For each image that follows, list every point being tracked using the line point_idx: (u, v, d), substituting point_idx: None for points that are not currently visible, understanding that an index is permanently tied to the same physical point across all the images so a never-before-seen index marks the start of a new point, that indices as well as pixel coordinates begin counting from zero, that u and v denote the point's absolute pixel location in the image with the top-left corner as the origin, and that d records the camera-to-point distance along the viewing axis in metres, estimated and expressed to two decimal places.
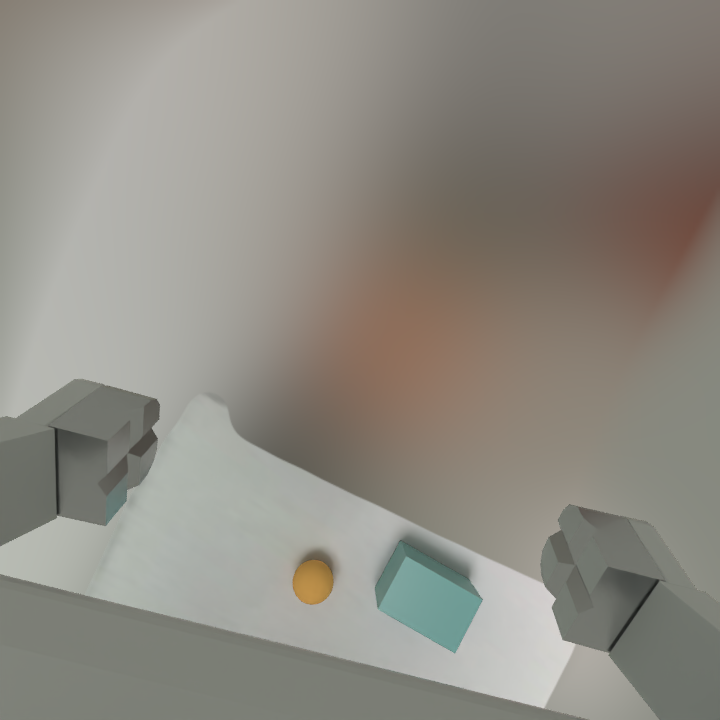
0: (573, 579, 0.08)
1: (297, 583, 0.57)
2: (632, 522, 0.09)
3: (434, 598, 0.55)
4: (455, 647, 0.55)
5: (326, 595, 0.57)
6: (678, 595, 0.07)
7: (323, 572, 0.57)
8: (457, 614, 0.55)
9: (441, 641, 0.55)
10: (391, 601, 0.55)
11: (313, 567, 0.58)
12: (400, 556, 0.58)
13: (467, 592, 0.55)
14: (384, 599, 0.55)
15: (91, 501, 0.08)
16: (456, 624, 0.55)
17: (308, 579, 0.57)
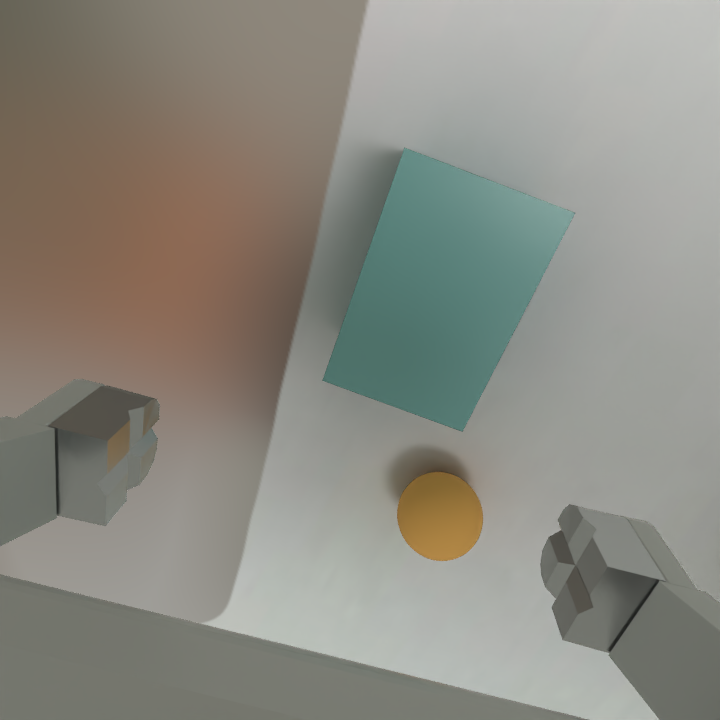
0: (573, 579, 0.08)
1: (436, 560, 0.27)
2: (631, 522, 0.09)
3: (419, 295, 0.20)
4: (556, 214, 0.18)
5: (456, 506, 0.26)
6: (678, 596, 0.07)
7: (410, 514, 0.27)
8: (457, 222, 0.18)
9: (539, 259, 0.18)
10: (439, 402, 0.21)
11: (402, 530, 0.27)
12: None
13: (389, 201, 0.18)
14: (436, 419, 0.22)
15: (91, 501, 0.08)
16: (486, 221, 0.18)
17: (423, 549, 0.26)
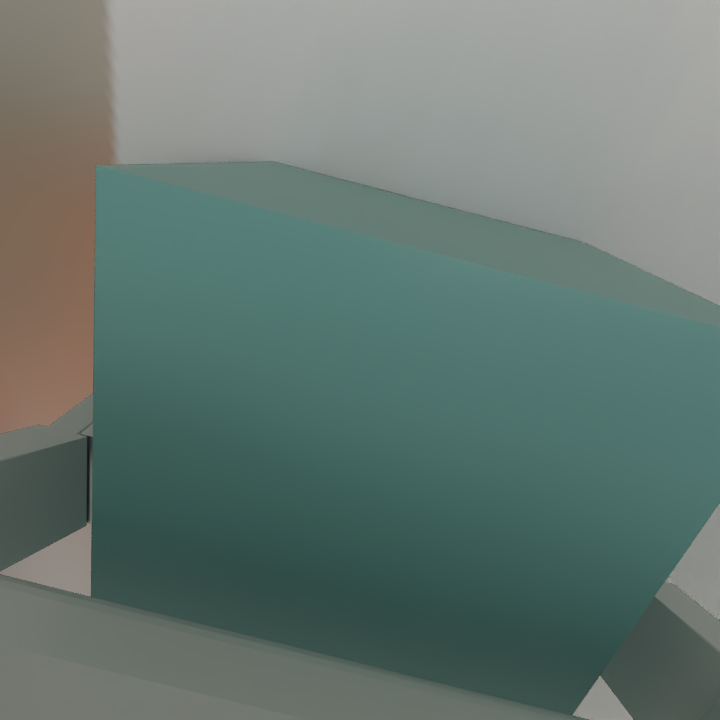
0: None
1: None
2: None
3: (282, 612, 0.06)
4: None
5: None
6: None
7: None
8: (359, 413, 0.05)
9: (672, 512, 0.05)
10: None
11: None
12: None
13: (103, 362, 0.05)
14: None
15: None
16: (467, 403, 0.05)
17: None
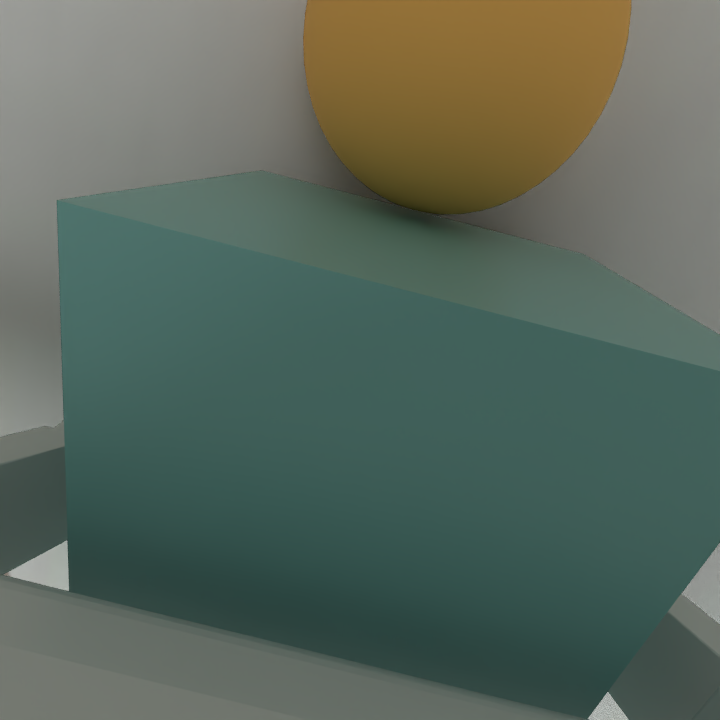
0: None
1: None
2: None
3: None
4: None
5: None
6: None
7: None
8: (340, 454, 0.05)
9: (667, 555, 0.05)
10: None
11: None
12: None
13: (73, 401, 0.05)
14: None
15: None
16: (453, 445, 0.05)
17: None
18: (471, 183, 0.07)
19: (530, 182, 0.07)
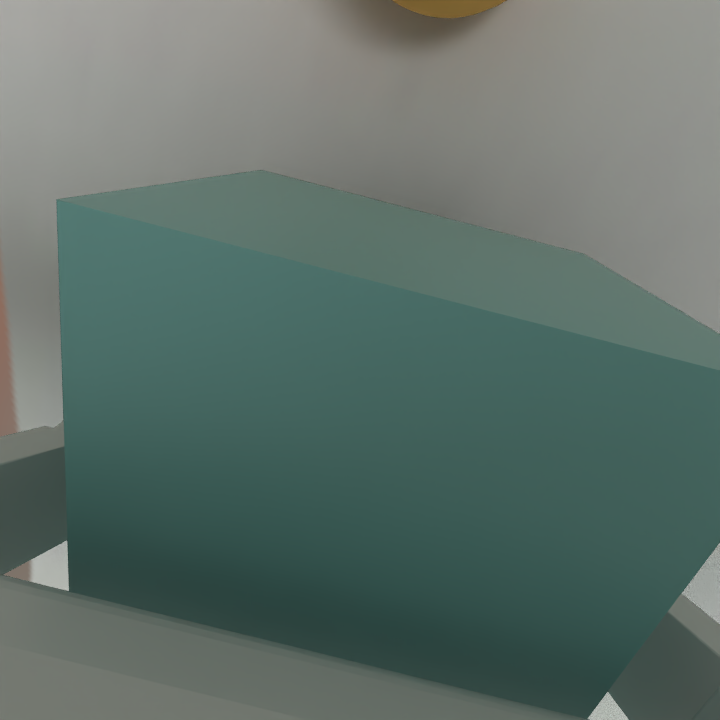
0: None
1: None
2: None
3: None
4: None
5: (429, 15, 0.10)
6: None
7: None
8: (340, 453, 0.05)
9: (667, 554, 0.05)
10: None
11: None
12: None
13: (73, 400, 0.05)
14: None
15: None
16: (453, 444, 0.05)
17: None
18: None
19: None
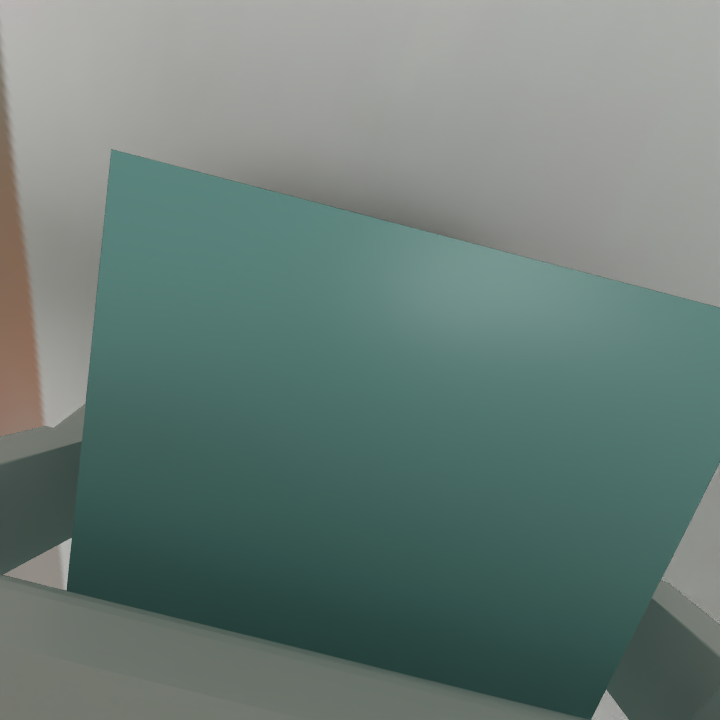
0: None
1: None
2: None
3: (271, 624, 0.06)
4: (718, 335, 0.05)
5: None
6: None
7: None
8: (355, 394, 0.05)
9: (665, 493, 0.05)
10: None
11: None
12: None
13: (102, 344, 0.05)
14: None
15: None
16: (461, 381, 0.05)
17: None
18: None
19: None
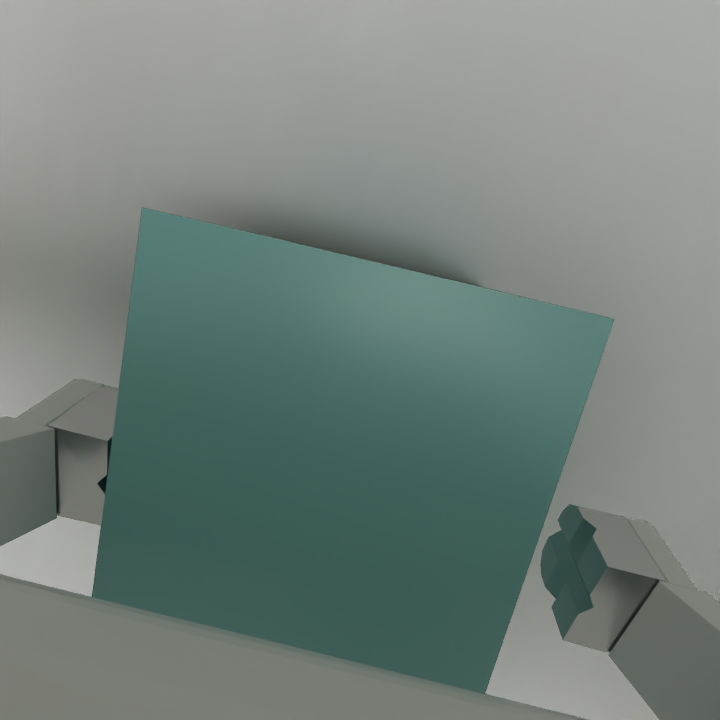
0: (573, 579, 0.08)
1: None
2: (631, 522, 0.09)
3: (266, 566, 0.08)
4: (571, 327, 0.07)
5: None
6: (679, 596, 0.07)
7: None
8: (326, 380, 0.07)
9: (547, 439, 0.07)
10: None
11: None
12: None
13: (132, 351, 0.07)
14: None
15: (91, 501, 0.08)
16: (401, 367, 0.07)
17: None
18: None
19: None
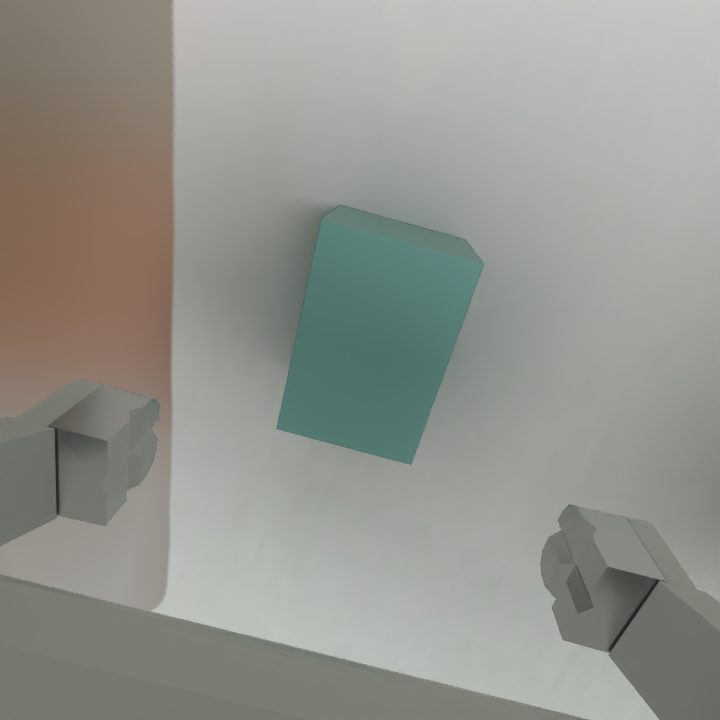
0: (573, 579, 0.08)
1: None
2: (632, 522, 0.09)
3: (353, 347, 0.21)
4: (467, 266, 0.19)
5: None
6: (678, 596, 0.07)
7: None
8: (378, 280, 0.20)
9: (458, 307, 0.20)
10: (386, 440, 0.23)
11: None
12: None
13: (314, 266, 0.20)
14: (385, 455, 0.23)
15: (91, 501, 0.08)
16: (405, 277, 0.20)
17: None
18: None
19: None
